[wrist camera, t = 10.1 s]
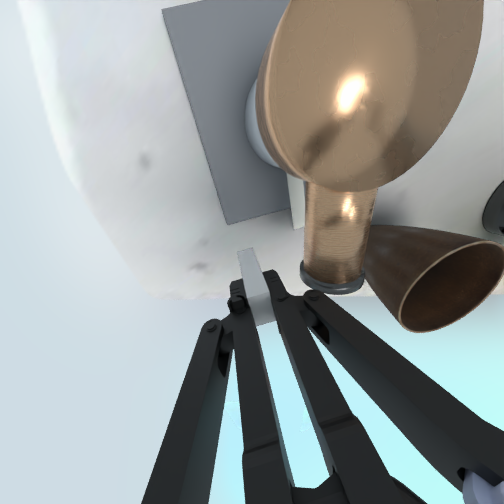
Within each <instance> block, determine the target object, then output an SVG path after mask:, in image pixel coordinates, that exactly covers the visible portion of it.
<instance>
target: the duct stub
mask: <svg viewBox="0 0 504 504" xmlns="http://www.w3.org/2000/svg"><path fill="white" fill-rule="evenodd" d="M289 2H290V0H203V1H198V2H194V3H189V4H184V5H180V6H175V7H170V8H166V9H161V10H162V13H163V16H164V19H165V23H166V26H167V29H168V32H169V36H170V39H171V42H172V46H173V49H174V52H175V55H176V59H177V62H178V65H179V68H180V72H181V75H182V78H183V82H184V85H185V88H186V91H187V95H188V98H189V101H190V104H191V108H192V111H193V114H194V117H195V121H196V124H197V127H198V131H199V134H200V137H201V140H202V144H203V147H204V150H205V153H206V157H207V160H208V163H209V167H210V170H211V173H212V176H213V180H214V183H215V186H216V189H217V193H218V196H219V199H220V203H221V206H222V209H223V212H224V216H225V219H226V222H227V225H230V224H234V223H237V222H241V221H244V220H248V219H252V218H255V217H259V216H262V215H266V214H270V213H273V212H277V211H280V210H284V209H287V208H291V212H292V220H293V228H294V230H296V229H299V228H303V227H304V226H305V188H306V181H304V180H300V179H298V178H295V177H293V176H291V175H290V174H288V173H286V172H285V171H284V170H283V169H281V168H280V167H279V166H278V165H277V164H276V163H275V161H274V160H273V159H272V157H271V156H270V154H269V153H268V151H267V149H266V147H265V145H264V143H263V141H262V138H261V135H260V132H259V128H258V124H257V117H256V108H255V94H256V83H257V77H258V72H259V68H260V64H261V61H262V57H263V55H264V52H265V50H266V48H267V45H268V43H269V41H270V39H271V37H272V35H273V33H274V31H275V29H276V27H277V25H278V23H279V21H280V19H281V17H282V16H283V14H284V12H285V10H286V8H287V6H288V4H289Z"/></svg>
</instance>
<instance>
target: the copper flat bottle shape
mask: <svg viewBox="0 0 504 504" xmlns="http://www.w3.org/2000/svg"><path fill="white" fill-rule="evenodd" d="M483 5H484V0H290V2H289V4H288V6H287V8H286V10H285V12H284V14H283V16H282V17H281V19H280V21H279V23H278V25H277V27H276V29H275V31H274V33H273V35H272V37H271V39H270V41H269V43H268V45H267V48H266V50H265V52H264V55H263V57H262V61H261V64H260V68H259V72H258V77H257V83H256V94H255V108H256V117H257V124H258V128H259V132H260V135H261V138H262V141H263V143H264V145H265V147H266V149H267V151H268V153H269V154H270V156H271V157H272V159H273V160H274V161H275V163H276V164H277V165H278V166H279V167H280V168H281V169H283V170H284V171H285V172H286V173H288V174H290V175H291V176H293V177H295V178H298V179H300V180H304V181H306V188H305V226H304V259H303V260H302V262H301V264H300V277H301V279H302V281H303V282H304V283H305V284H306V285H307V286H309V287H310V288H312V289H316V290H319V291H321V292H323V293H326V294H333V295H343V294H349V293H353V292H355V291H357V290H359V289H360V288H361V287H362V285H363V283H364V279H365V269H364V267H363V261H364V256H365V251H366V246H367V241H368V236H369V231H370V226H371V220H372V215H373V210H374V205H375V200H376V195H377V190H378V187H380V186H383V185H385V184H387V183H389V182H391V181H393V180H394V179H396V178H397V177H399V176H400V175H402V174H404V173H405V172H406V171H407V170H409V169H410V168H411V167H412V166H414V165H415V164H416V163H417V162H418V161H419V160H420V159H421V158H422V157H423V156H424V155H425V154H426V153H427V152H428V150H429V149H430V148H431V147H432V146H433V145H434V143H435V142H436V141H437V139H438V138H439V137H440V136H441V134H442V133H443V131H444V130H445V128H446V127H447V125H448V123H449V122H450V120H451V118H452V117H453V115H454V113H455V111H456V109H457V108H458V106H459V103H460V101H461V99H462V97H463V95H464V93H465V90H466V88H467V85H468V82H469V80H470V77H471V74H472V71H473V68H474V64H475V61H476V57H477V53H478V48H479V43H480V38H481V31H482V23H483Z"/></svg>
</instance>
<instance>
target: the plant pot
mask: <svg viewBox="0 0 504 504" xmlns="http://www.w3.org/2000/svg"><path fill="white" fill-rule="evenodd" d="M363 267H364V269H365V279H366V281H367V282H368V284H369V285H370V287H371V288H372V289H373V291H374V292H375V294H376V295H377V296H378V298H379V299H380V300H381V302H382V303H383V304H384V305H385V306H386V308H387V309H388V310H389V311H390V313H392V315H393V316H394V317H395V319H396V320H397V321H398V322H399V323H400V324H401V326H402V327H403V328H404V329H406V330H408V331H410V332H414V333H425V332H431V331H435V330H438V329H441V328H443V327H446V326H448V325H450V324H452V323H454V322H456V321H457V320H459V319H461V318H463V317H464V316H466V315H467V314H469V313H470V312H471V311H472V310H474V309H475V308H476V307H478V306H479V305H480V304H481V303H482V302H483V301H484V300H485V299H486V298H487V297H488V296H489V295H490V294H491V293H492V291H493V290H494V289H495V288H496V286H497V285H498V283H499V282H500V280H501V279H502V277H503V275H504V247H503V246H502V245H501V244H499V243H497V242H494V241H489V240H485V239H480V238H476V237H471V236H466V235H461V234H456V233H451V232H445V231H439V230H433V229H426V228H418V227H408V226H394V225H372V226H370V231H369V236H368V241H367V246H366V251H365V256H364V261H363Z"/></svg>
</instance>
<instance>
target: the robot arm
mask: <svg viewBox="0 0 504 504" xmlns="http://www.w3.org/2000/svg"><path fill="white" fill-rule="evenodd" d="M483 225H484V227H485V229H486V230H487V231H489V232H492V233H495V234H499V235H502V236H504V182H503V183H502V184H501V185H500V186H499V188H498V189H497V190H496V191H495V193H494V194H493V196H492V197H491V199H490V200H489V202H488V204H487V206H486V209H485V212H484V216H483ZM237 254H238V259H239V263H240V268H241V273H242V277H243V279H239V280H236V281H232V282H231V284H230V294H231V297H230V298H229V300H228V302H227V304H228V307H229V310H230V314H229V315H228V316H227V317H226V318H224V319H222V320H221V321H220V320H218V319H211V320H209V321H207V322H206V323H205V324H204V325H203V327H202V329H201V332H200V335H199V337H198V340H197V343H196V346H195V349H194V352H193V355H192V358H191V361H190V364H189V366H188V369H187V372H186V375H185V378H184V381H183V384H182V387H181V390H180V393H179V396H178V399H177V401H176V404H175V407H174V410H173V413H172V416H171V419H170V422H169V424H168V427H167V430H166V433H165V436H164V439H163V442H162V445H161V448H160V451H159V454H158V456H157V459H156V462H155V465H154V468H153V471H152V474H151V477H150V480H149V482H148V485H147V488H146V491H145V494H144V497H143V500H142V503H141V504H208V502H209V495H210V489H211V483H212V477H213V471H214V465H215V459H216V452H217V446H218V440H219V434H220V427H221V421H222V415H223V409H224V403H225V396H226V390H227V384H228V377H229V371H230V365H231V359H232V352H233V349H234V351H235V361H236V372H237V381H238V392H239V402H240V413H241V423H242V433H243V443H244V451H243V455H242V466H243V467H242V468H243V480H244V492H245V504H427V503H426V502H425V501H423V500H422V499H421V498H420V497H418V496H417V495H416V494H415V493H414V492H412V491H411V490H410V489H409V488H408V487H406V486H405V485H404V484H403V483H401V482H400V481H398V480H397V479H395V478H394V477H392V476H390V475H389V473H388V471H387V469H386V467H385V466H384V464H383V462H382V460H381V458H380V456H379V454H378V453H377V451H376V449H375V447H374V445H373V443H372V441H371V439H370V438H369V436H368V434H367V432H366V430H365V429H364V427H363V425H362V423H361V422H360V421H359V419H358V418H357V417H356V416H355V415H354V414H353V413H352V412H351V410H350V408H349V406H348V404H347V402H346V400H345V398H344V397H343V395H342V393H341V391H340V389H339V387H338V385H337V383H336V381H335V379H334V377H333V375H332V374H331V372H330V370H329V368H328V366H327V364H326V362H325V360H324V358H323V356H322V355H321V352H320V351H319V349H318V347H317V345H316V343H315V341H314V339H313V337H312V335H311V333H310V331H309V330H308V328H309V329H310V330H311V332H312V333H313V334H314V335H315V336H316V337H317V338H318V339H319V340H320V342H321V343H322V344H323V345H324V346H325V347H326V348H327V349H328V351H329V352H330V353H331V354H332V355H333V356H334V357H335V358H336V359H337V361H338V362H339V363H340V364H341V365H342V366H343V367H344V368H345V370H346V371H347V372H348V373H349V374H350V375H351V376H352V377H353V378H354V379H355V381H356V382H357V383H358V384H359V385H360V386H361V387H362V389H363V390H364V391H365V392H366V393H367V394H368V395H369V396H370V397H371V399H372V400H373V401H374V402H375V403H376V404H377V405H378V406H379V408H380V409H381V410H382V411H383V412H384V413H385V414H386V415H387V416H388V418H389V419H390V420H391V421H392V422H393V423H394V424H395V425H396V426H397V427H398V429H399V430H400V431H401V432H402V433H403V434H404V435H405V437H406V438H407V439H408V440H409V441H410V442H411V443H412V444H413V446H414V447H415V448H416V449H417V450H418V451H419V452H420V453H421V454H422V455H423V456H424V457H425V459H426V460H427V461H428V462H429V463H430V464H431V465H432V466H433V467H434V468H435V469H436V470H437V471H438V472H439V473H440V474H441V475H442V476H444V477H445V478H446V479H447V480H448V481H449V482H450V483H451V484H452V485H453V486H454V487H456V488H457V489H458V490H459V491H460V492H462V493H463V499H464V502H465V504H504V431H502V430H501V429H499V428H497V427H495V426H493V425H491V424H490V423H488V422H486V421H484V420H483V419H481V418H480V417H479V416H478V415H476V414H475V413H474V412H472V411H471V410H470V409H469V408H467V407H466V406H465V405H464V404H463V403H461V402H460V401H458V400H457V399H456V398H455V397H454V396H452V395H451V394H450V393H449V392H447V391H446V390H445V389H443V388H442V387H441V386H440V385H439V384H437V383H436V382H435V381H434V380H432V379H431V378H430V377H428V376H427V375H426V374H425V373H423V372H422V371H421V370H420V369H418V368H417V367H416V366H415V365H413V364H412V363H411V362H410V361H408V360H407V359H406V358H404V357H403V356H402V355H401V354H400V353H398V352H397V351H396V350H394V349H393V348H392V347H391V346H389V345H388V344H387V343H385V342H384V341H383V340H382V339H381V338H379V337H378V336H377V335H376V334H374V333H373V332H372V331H371V330H369V329H368V328H367V327H365V326H364V325H363V324H362V323H360V322H359V321H358V320H357V319H355V318H354V317H353V316H351V315H350V314H349V313H348V312H346V311H345V310H344V309H343V308H342V307H340V306H339V305H338V304H336V303H335V302H334V301H333V300H331V299H330V298H329V297H328V296H326V295H325V294H324V293H323V292H321V291H319V290H316V289H312V290H308V291H306V292H305V293H304V295H303V296H293V295H291V294H289V293H288V292H287V291H286V289H285V287H284V285H283V283H282V281H281V279H280V277H279V275H278V273H277V272H276V271H274V270H273V269H272V270H269V271H265V272H262V271H261V269H260V266H259V263H258V261H257V258H256V256H255V253H254V250H253V248H249V249H246V250H242V251H238V252H237ZM273 321H277V325H278V329H279V333H280V334H281V337H282V340H283V342H284V345H285V348H286V351H287V354H288V356H289V359H290V362H291V365H292V368H293V371H294V374H295V376H296V379H297V382H298V385H299V388H300V390H301V393H302V396H303V399H304V402H305V405H306V407H307V410H308V413H309V416H310V419H311V422H312V424H313V427H314V430H315V433H316V436H317V439H318V441H319V444H320V447H321V450H322V453H323V457H324V460H325V463H326V466H327V470H328V472H329V475H330V477H329V478H328V479H327V480H325V481H324V482H323V483H322V484H321V485H320V486H319V487H317V488H315V489H314V488H313V489H312V488H300V487H295V484H294V480H293V476H292V473H291V469H290V465H289V461H288V457H287V453H286V449H285V445H284V440H283V436H282V432H281V428H280V424H279V420H278V415H277V411H276V407H275V403H274V398H273V394H272V390H271V386H270V382H269V377H268V373H267V369H266V365H265V361H264V356H263V352H262V348H261V344H260V339H259V335H258V331H257V329H256V326H259V325H263V324H266V323H269V322H273Z"/></svg>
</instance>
